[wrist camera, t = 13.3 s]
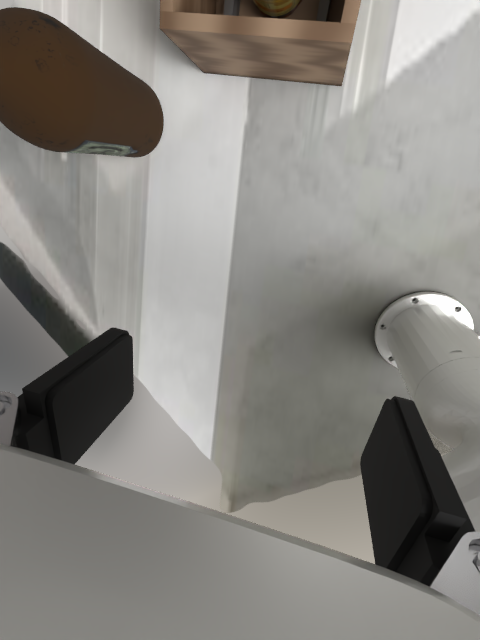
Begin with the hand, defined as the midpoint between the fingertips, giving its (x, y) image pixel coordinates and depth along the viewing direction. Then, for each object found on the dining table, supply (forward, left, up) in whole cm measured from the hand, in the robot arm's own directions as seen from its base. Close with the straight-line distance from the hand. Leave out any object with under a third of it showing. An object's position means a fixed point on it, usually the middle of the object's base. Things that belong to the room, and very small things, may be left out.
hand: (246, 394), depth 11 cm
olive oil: (+26, -12, -36) cm, 46 cm away
